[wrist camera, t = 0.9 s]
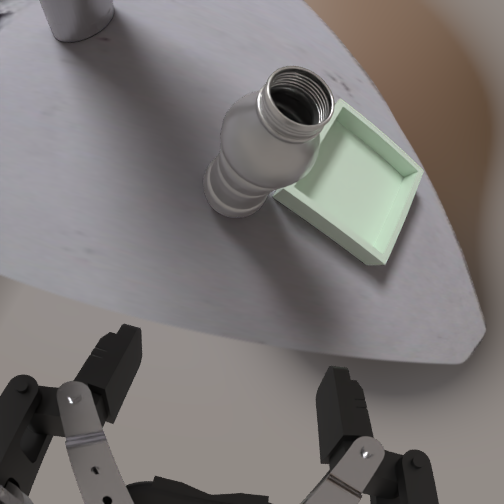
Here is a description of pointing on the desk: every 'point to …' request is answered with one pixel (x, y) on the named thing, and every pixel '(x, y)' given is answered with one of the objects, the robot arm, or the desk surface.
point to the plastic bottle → (268, 141)
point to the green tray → (356, 187)
